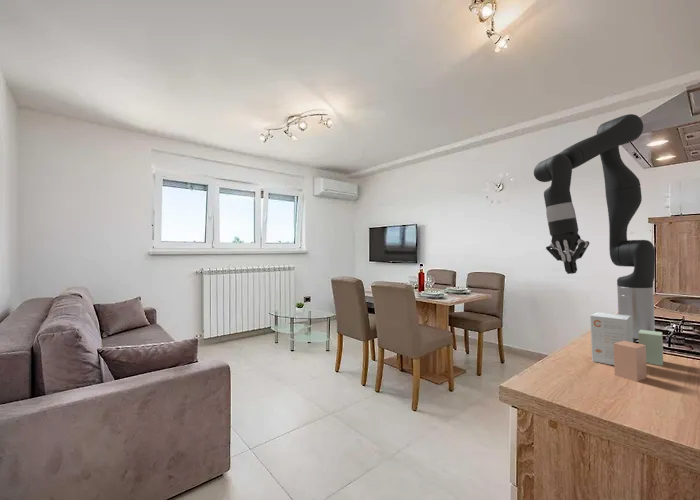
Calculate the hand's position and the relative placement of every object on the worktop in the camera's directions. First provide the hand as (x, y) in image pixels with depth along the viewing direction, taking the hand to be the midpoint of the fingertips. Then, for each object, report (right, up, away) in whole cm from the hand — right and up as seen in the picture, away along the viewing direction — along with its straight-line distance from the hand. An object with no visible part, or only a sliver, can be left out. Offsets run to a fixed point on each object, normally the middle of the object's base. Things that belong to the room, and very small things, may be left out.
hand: (571, 273), depth 98 cm
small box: (+3, -24, -11) cm, 27 cm away
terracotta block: (0, -24, -21) cm, 32 cm away
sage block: (+13, -23, -12) cm, 29 cm away
